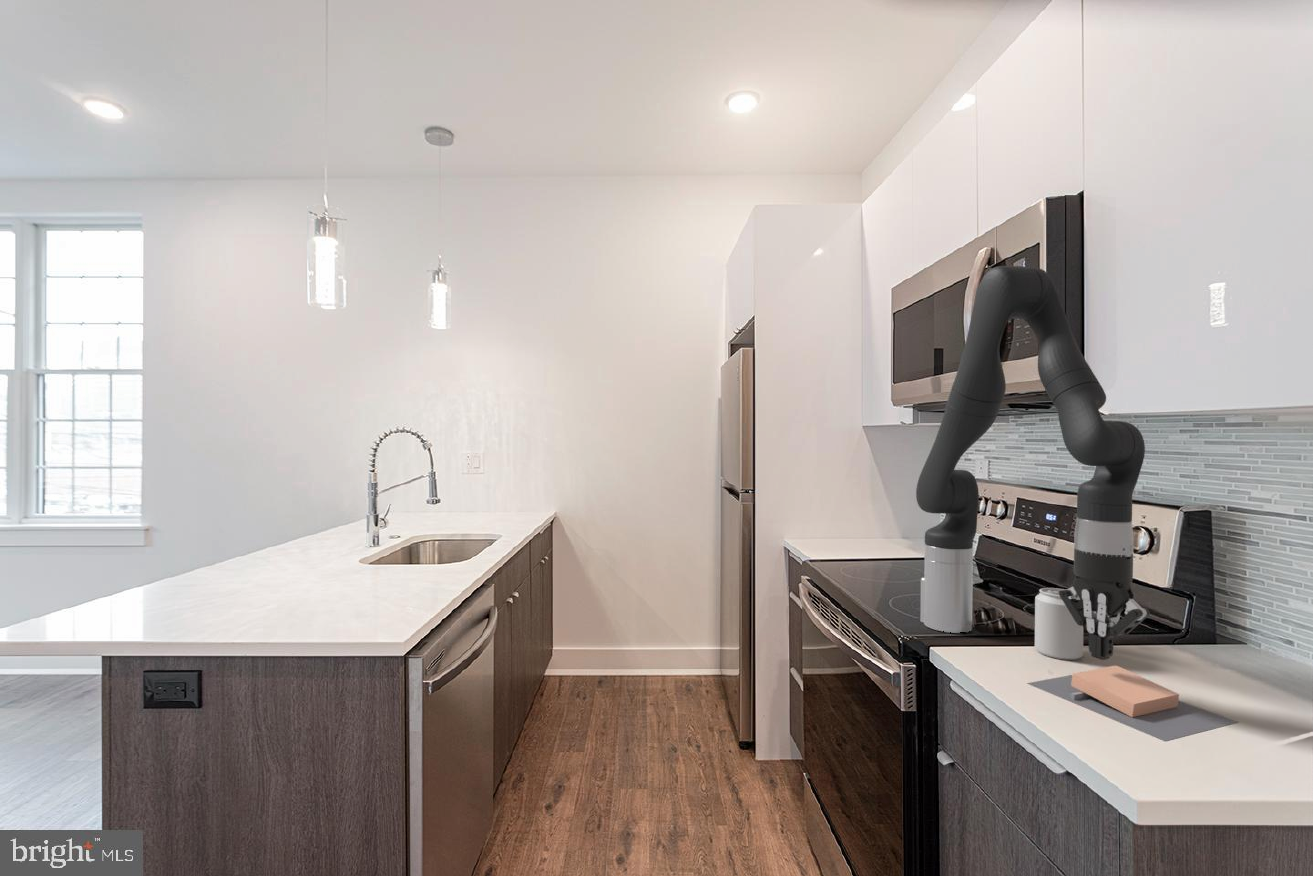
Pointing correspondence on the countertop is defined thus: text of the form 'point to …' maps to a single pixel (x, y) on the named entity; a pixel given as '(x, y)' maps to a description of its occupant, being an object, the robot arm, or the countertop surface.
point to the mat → (1155, 724)
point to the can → (1056, 627)
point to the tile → (1125, 690)
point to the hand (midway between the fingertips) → (1100, 657)
